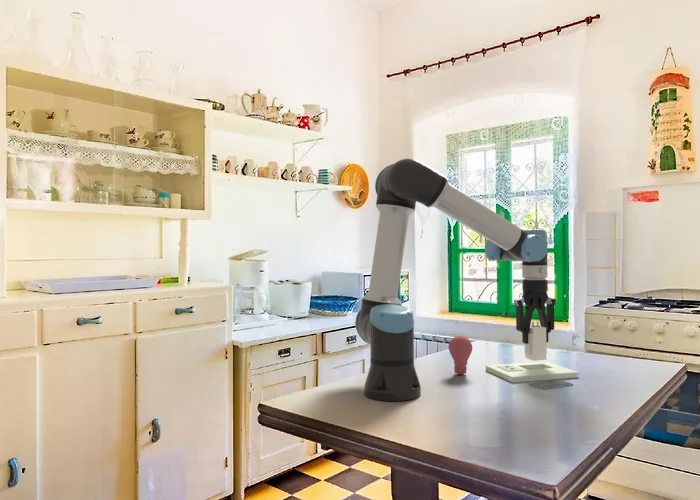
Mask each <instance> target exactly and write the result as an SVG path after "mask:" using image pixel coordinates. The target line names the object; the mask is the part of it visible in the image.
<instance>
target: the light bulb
mask: <svg viewBox="0 0 700 500" xmlns="http://www.w3.org/2000/svg"><path fill="white" fill-rule="evenodd" d="M448 351H449V353H450V356H451V358H452V359H453V364H454V366H453V371H454V373H455V374H458V375H459V376H460V375H464V374H467V365H468V360H469V358H470V357H471V354H472V351H473V344H472V342H471V341H470V339H469V338H468V337H466V336H464V335H456V336H454V337H453V338H452V339H450V340H449V343H448Z"/></svg>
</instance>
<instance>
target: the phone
mask: <svg viewBox="0 0 700 500" xmlns="http://www.w3.org/2000/svg"><path fill="white" fill-rule="evenodd" d="M528 385H529V386H530V387H534V388H537V389H540V390H543V391H546V390H551V389H556V388H563V387H570V386H571V387H572V386H574V383H572V382H569V381H566V380H561V379H552V380H543V381H539V382H538V381H536V382H531V383H528Z"/></svg>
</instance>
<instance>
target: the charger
mask: <svg viewBox="0 0 700 500" xmlns="http://www.w3.org/2000/svg"><path fill="white" fill-rule="evenodd" d="M529 333H531V342H532V355H529V354H526V353H525V352H524V354H525V355H524V356H525V358H526V359H528V360H531V361H532V362H536V361H546V360H547V354H546V344H547V342H546V327H542V326H541V325H540V321H536V325H535V321H531V325H530V330H529Z"/></svg>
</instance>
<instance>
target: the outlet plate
mask: <svg viewBox="0 0 700 500" xmlns="http://www.w3.org/2000/svg"><path fill="white" fill-rule="evenodd" d="M485 371H486V372H489V373H490V374H492V375H494V376H497V377H499V378H501V379H504V380H505V381H508V382H511V383H513V384H514V383H525V382H538V381H539V382H541V381H550V380H557V379H558V380H561V379H563V380H564V379H574V378H575V379H576V378H579V377H580V375H579V371H577V370H573V369H570V368H568V367H565V366H561V365H559V364H556V363H553V362H550V361H548V360H547V361H546V360H544V361H531V362H530V361H529V362H521V363H520V362H518V363H506V364H503V363H502V364H489V365H485Z"/></svg>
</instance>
